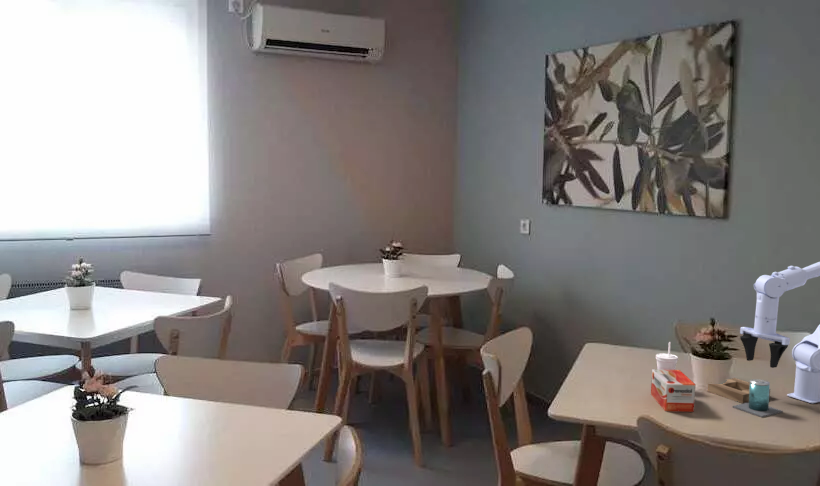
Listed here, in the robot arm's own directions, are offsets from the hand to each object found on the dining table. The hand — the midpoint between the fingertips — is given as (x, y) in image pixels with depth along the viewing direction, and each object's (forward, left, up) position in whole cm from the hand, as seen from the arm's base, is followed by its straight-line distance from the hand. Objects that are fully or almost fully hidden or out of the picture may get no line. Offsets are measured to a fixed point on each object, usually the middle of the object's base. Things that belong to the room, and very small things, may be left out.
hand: (761, 363), depth 218 cm
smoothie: (+17, -20, -11) cm, 28 cm away
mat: (+9, +6, -10) cm, 15 cm away
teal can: (+9, +6, -10) cm, 15 cm away
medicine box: (+26, -9, -11) cm, 30 cm away
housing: (+2, -5, -10) cm, 12 cm away
